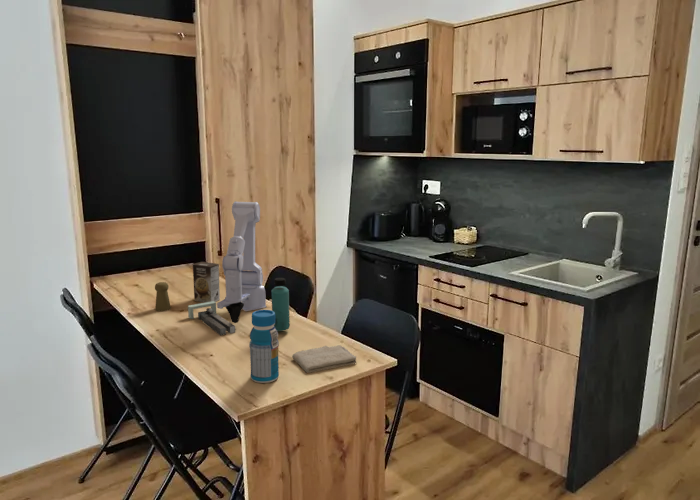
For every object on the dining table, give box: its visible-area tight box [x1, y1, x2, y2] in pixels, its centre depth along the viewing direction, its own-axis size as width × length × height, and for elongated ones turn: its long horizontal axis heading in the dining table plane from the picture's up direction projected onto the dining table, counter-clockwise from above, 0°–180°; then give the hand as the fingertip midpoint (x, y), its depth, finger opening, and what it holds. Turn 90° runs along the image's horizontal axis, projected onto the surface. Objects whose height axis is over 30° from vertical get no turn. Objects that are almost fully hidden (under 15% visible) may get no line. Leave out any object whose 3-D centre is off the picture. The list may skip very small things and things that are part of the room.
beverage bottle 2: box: [271, 277, 291, 332], centre depth 191 cm, size 6×7×20 cm
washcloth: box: [292, 344, 357, 374], centre depth 168 cm, size 12×18×3 cm, turn 118°
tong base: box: [197, 310, 227, 336], centre depth 198 cm, size 5×22×2 cm, turn 36°
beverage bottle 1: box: [248, 309, 280, 384], centre depth 154 cm, size 8×8×20 cm
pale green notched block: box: [187, 301, 217, 320], centre depth 207 cm, size 10×2×5 cm, turn 126°
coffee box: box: [192, 261, 221, 303], centre depth 226 cm, size 9×6×16 cm
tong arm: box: [205, 307, 236, 334], centre depth 199 cm, size 2×21×3 cm, turn 38°
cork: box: [154, 281, 172, 312], centre depth 214 cm, size 6×6×11 cm
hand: (234, 322), depth 198 cm, fingers closed
